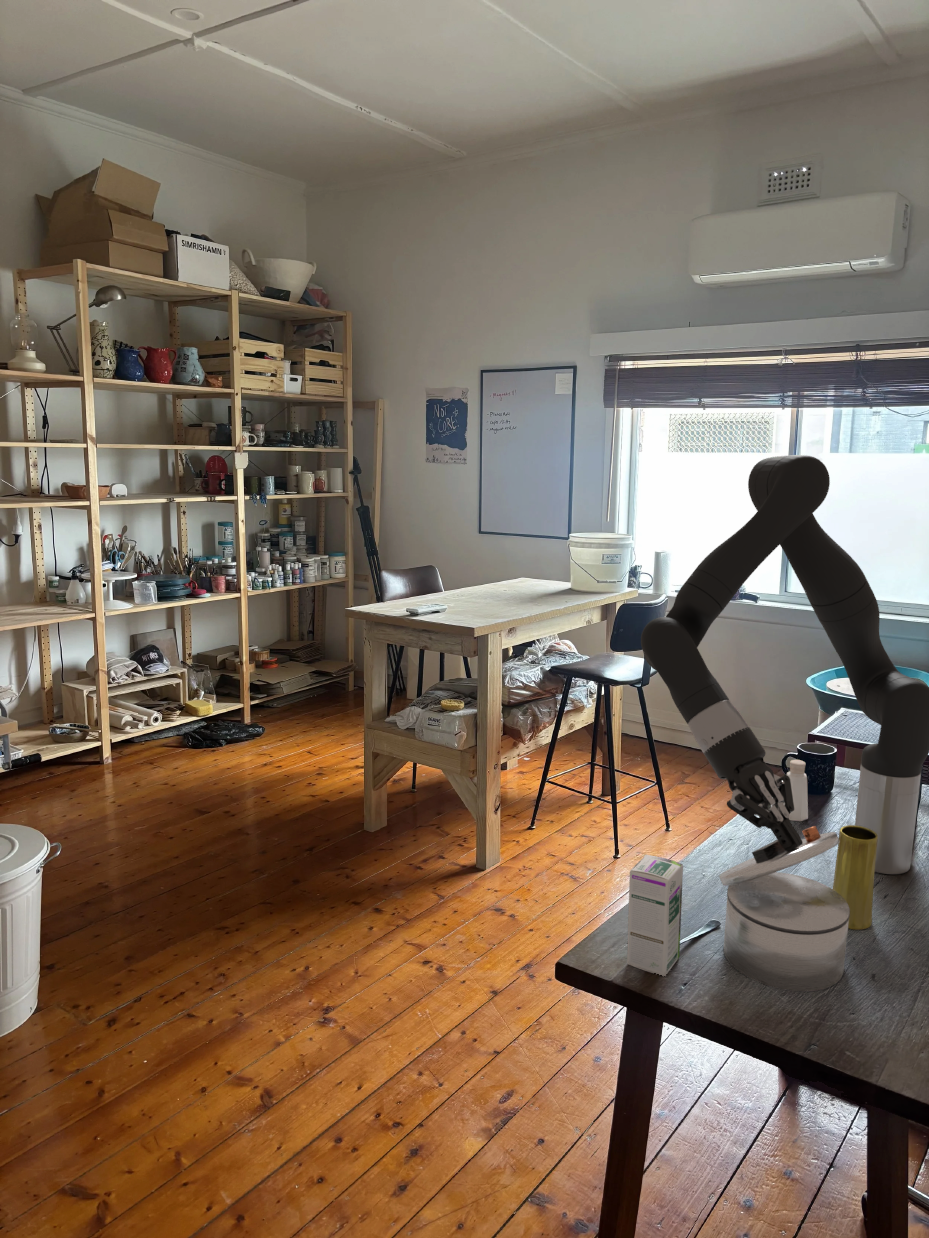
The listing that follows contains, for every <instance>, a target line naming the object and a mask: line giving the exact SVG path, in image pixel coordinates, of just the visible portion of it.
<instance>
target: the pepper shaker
mask: <svg viewBox="0 0 929 1238" xmlns="http://www.w3.org/2000/svg"><path fill="white" fill-rule="evenodd" d="M789 769H790V770H789V771H788V772H786V775H787V776H788V777H789V778H790V782H791V789H792V796H793V803H794V811H792V812H791V813H790V818H789V820H790V822H792V821H794V822H795V821H796V822H803V821H806V820H808V818H809V809H808V808H809V806H808V805H809V804H808V802H809V799H808V776H807V773H805V771H806V762H805V761H803V760H800V759H791V760H790V761H789ZM783 804H784V805H785V802H784V803H783Z"/></svg>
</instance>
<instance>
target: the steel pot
mask: <svg viewBox="0 0 929 1238" xmlns="http://www.w3.org/2000/svg"><path fill="white" fill-rule="evenodd" d="M726 890H727V891H726V893H727V894H726V908H725V909H726V911H725V924H724V939H723V940H724V941H723V954H724V956H725V959H726V960H727V961H728V963H729V964H730V965H731V966H732V967H733V968H734V969H736V970H737V972H739V973H741V974H742V975H743V976H745V977H747V978H748V979H750V980H753V981H755V982H757V983H759V984H761V985H764V986H768V987H771V988H775V989H778V990H784V991H787V992H788V991H791V992H803V993H804V992H816V991H817V992H818V991H821V990H825V989H829V988H830V987H833V986H834V985H836V984H837V983H838V982H840V980H841V979H842V977H843V974H844V971H845V970H844V969H845V962H846V961H845V959H846V953H847V952H846V950H847V941H848V931H849V929H848V922H849V917H850V908H849V905H848V903H847V902H846V901H845V899H844V898H843V897H842V896H841V895H840V894H838V893H837V892H836V891H834V890H833V888H831V887H829V886H828V885H826V884H823V883H822V882H819V881H816V880H814V879H811V878H808V877H806V876H801V875H797V874H792V873H787V872H779V871H777V872H775V873H772V874H769V875H766V876H763V877H760V878H757V879H753V880H750V881H746V882H743V883H739V884H734V885H728V886H727V889H726Z"/></svg>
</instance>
